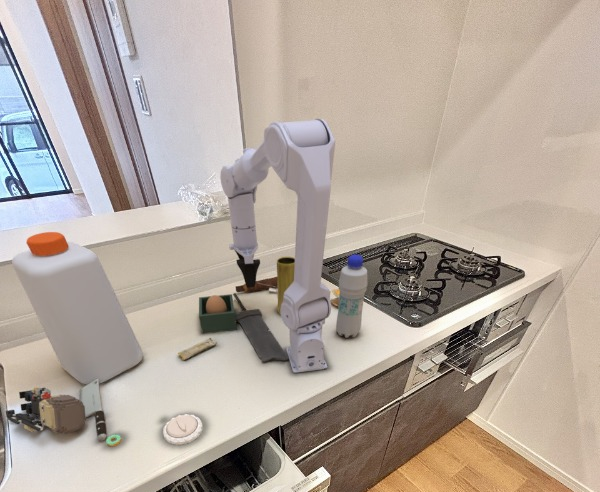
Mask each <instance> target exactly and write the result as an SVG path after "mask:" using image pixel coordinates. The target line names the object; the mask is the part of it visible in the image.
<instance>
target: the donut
mask: <svg viewBox="0 0 600 492" xmlns="http://www.w3.org/2000/svg"><path fill="white" fill-rule="evenodd" d="M105 440H106V441H105V442H106V445H107V446H108V447H116V446H118V445H119V444H120V443H121V442H122V440H123V439H122V436H120V434H112V435H109V436H107V437H106V439H105Z"/></svg>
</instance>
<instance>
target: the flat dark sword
mask: <svg viewBox="0 0 600 492" xmlns="http://www.w3.org/2000/svg"><path fill="white" fill-rule="evenodd" d="M232 296H233V297H234V299H235V300H236V302H237V304H238V305H239V307H240V309H241V310H242V311H240V312H237V313H235V319H236V323H239V324H240V326H241V328H242V329H243V330H244V333H245V335H246V336H247V339H248V340H249V342H250V343H251V345H252V346H253V348H254V350H255V352H256V354H257V355H258V357H259V359H260V360H261V362H263V363H267V362H269V361H272V360H274V361H283V362H284V361H288V360H289V357H288V354H287V352H286V351H284V349H283V347H282V346H281V344H280V343H279V341H278V340H277V339H276V337H275V336H274V334H273V332H272V331H271V330H270V328H269V326H268V325H267V324H266V322H265V320H264V319H263V313H262V311H261V310H260V309H259V308H254V309H246V307H245V306H244V304H243V302H242V301H241V299H240V298H239V296H238V294H237V292H233V293H232Z"/></svg>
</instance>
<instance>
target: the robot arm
mask: <svg viewBox="0 0 600 492" xmlns="http://www.w3.org/2000/svg"><path fill="white" fill-rule="evenodd" d="M335 148H336V139H335V137H334V135H333V133H332V130H331V128H330V126H329V124H328V123H327V121H326V120H325V119H323V118H316V119H311V120H299V121H298V120H297V121H284V122H280V121H272V122H271V123H269V125H268V126H267V127H266V128H264V132H263V140H262V141H261V142H260V143H259V145H258V146H257V147H256V148H252V147H246V148H243V150H242V153H243V154H242V155H241V156H240V157H239V158H236V159H235V161H234V164H233V165H231V166H229V165H223V166H222V168H221V170H220V176H219V177H220V184H221V188H222V191H223V193H224V195H225V196H226V197H227V202H228V208H229V209H228V210H229V218H230V225H231V234H232V242H233V243H230V244H229V245H228V247H229V250H231V251H234V252H235V254H236V255H237V257H238V259H236V265H237V267H238V268H239V270H240V272H241V274H242V277H243V280H244V284H246V286H247V288H250V287H255V284H256V281H257V274H258V270H259V267H260V265H261V260H260V259H259V258H257V259H256V258H255V257H254V256H255V254H256V252H257V250H258V249H259V243H258V239H257V237H258V235H257V227H256V215H255V204H256V201H257V198H256V197H257V196H256V194H257V191H258V186H259V185H260V184H261V183H262V182H264V181H265V180H266V179H267V177H268V175H269V171H270V168H272V169H273V171H274V172H275V173H276V175H277V177H279V179H280V181H282V183H283V185H284V186H285V188H287V189H289V190H291V191H294V193H295V195H296V198H297V202H296V203H297V205H296V206H297V207H296V224H295V225H296V226H295V245H294V247H295V250H294V258H295V267H294V282H293V283H292V284H291V285H290V286H289V288H288V289H287V290H286V291H285V292H284V297H283V302H282V304H281V308H280V313H281V314H280V313H279V314H280V318H281V320H282V322H283V325H284V326H285V327H286V328H288V329H289V347H286V349H285V350H286V351H285V352H286V355H287V356H288V358H289V359H288V360H289V363H290V366H291V367H290V368H291V370H292V373H294V374H297V373H303V372H311V371H318V370H325V369H326V370H327V369H328V365H327V362H326V359H325V344H324V341H323V339H322V334H323V325H325V324H326V320H327V319H328V318H329V317H330V315H331V312H332V302H331V291H330V288H329V287H328V286H327V285H326V284H325V283H323V282H322V273H323V263H324V255H325V247H326V246H325V245H326V238H327V237H326V236H327V227H328V219H329V218H328V217H329V208H330V198H331V189H332V184H331V183H332V176H333V167H334V157H335V150H336V149H335ZM254 258H255V259H254Z"/></svg>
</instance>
